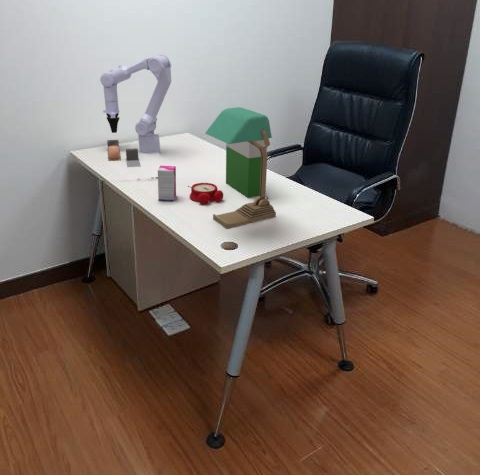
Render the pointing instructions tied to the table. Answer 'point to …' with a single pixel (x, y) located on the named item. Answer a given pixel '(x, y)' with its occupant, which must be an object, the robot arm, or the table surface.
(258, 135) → the banker's lamp
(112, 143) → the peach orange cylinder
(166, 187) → the supplement box
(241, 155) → the hardback book
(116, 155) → the terracotta canister
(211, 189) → the alarm clock
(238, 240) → the table surface
